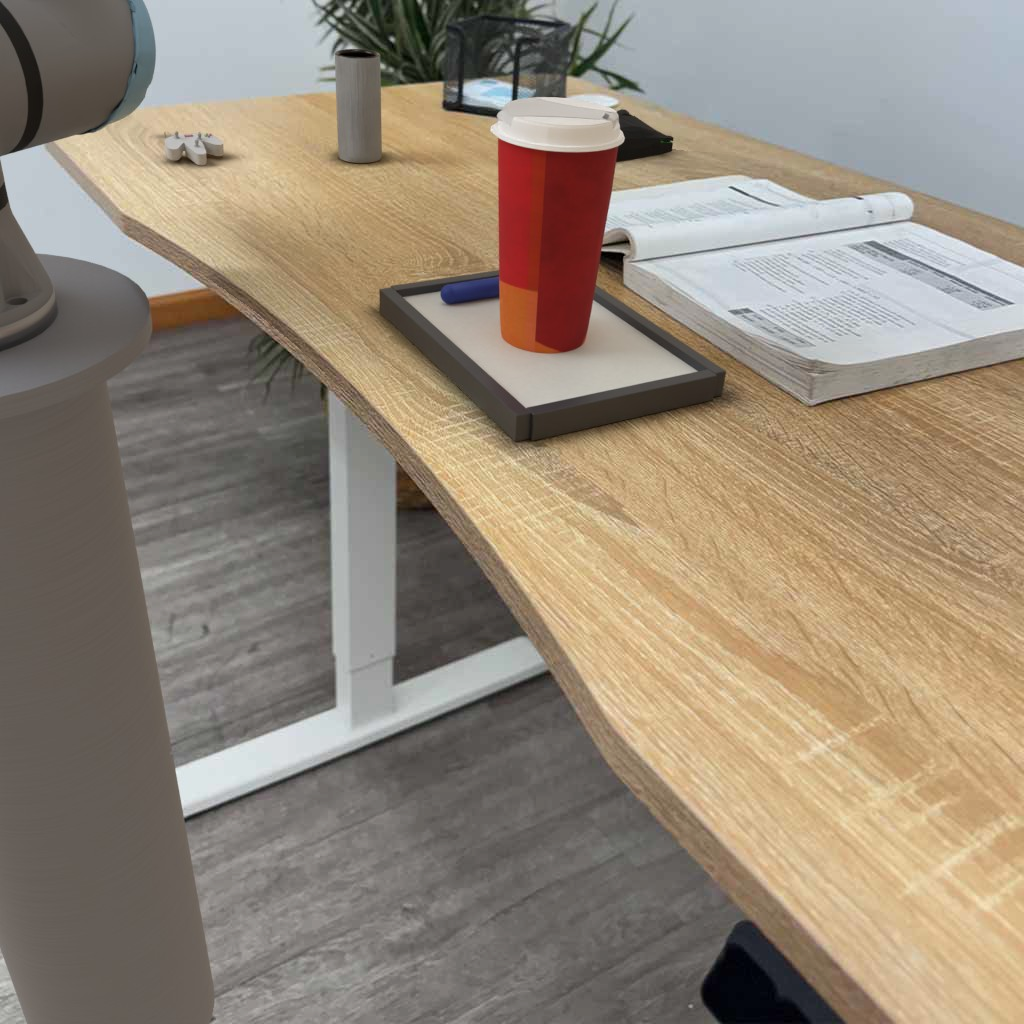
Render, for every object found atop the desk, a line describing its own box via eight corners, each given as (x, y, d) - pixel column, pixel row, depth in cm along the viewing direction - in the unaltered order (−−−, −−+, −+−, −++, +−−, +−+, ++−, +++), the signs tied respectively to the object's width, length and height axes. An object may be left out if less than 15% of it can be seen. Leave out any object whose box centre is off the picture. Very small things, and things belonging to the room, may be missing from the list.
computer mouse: (508, 143, 120) (510, 106, 117) (614, 127, 128) (618, 92, 126) (574, 169, 112) (578, 130, 110) (682, 150, 121) (687, 113, 119)
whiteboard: (377, 310, 79) (377, 276, 77) (558, 282, 85) (561, 250, 84) (517, 444, 63) (520, 405, 62) (725, 397, 70) (731, 361, 68)
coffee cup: (610, 320, 76) (635, 102, 68) (592, 368, 69) (616, 133, 61) (497, 304, 78) (508, 89, 69) (468, 350, 71) (476, 117, 62)
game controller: (187, 169, 105) (183, 142, 104) (119, 146, 111) (115, 120, 110) (233, 159, 109) (230, 132, 108) (165, 137, 115) (162, 112, 113)
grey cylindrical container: (348, 165, 109) (345, 58, 104) (331, 153, 112) (327, 49, 107) (388, 161, 111) (387, 56, 106) (371, 150, 114) (369, 47, 109)
